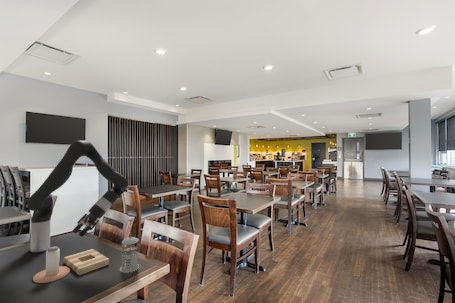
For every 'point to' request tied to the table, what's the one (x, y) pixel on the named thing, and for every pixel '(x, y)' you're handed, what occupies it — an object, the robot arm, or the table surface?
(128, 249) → the french press
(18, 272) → the table surface
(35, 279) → the terracotta plate
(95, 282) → the table surface
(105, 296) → the table surface
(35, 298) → the table surface
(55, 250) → the pepper mill
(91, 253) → the mill caddy
